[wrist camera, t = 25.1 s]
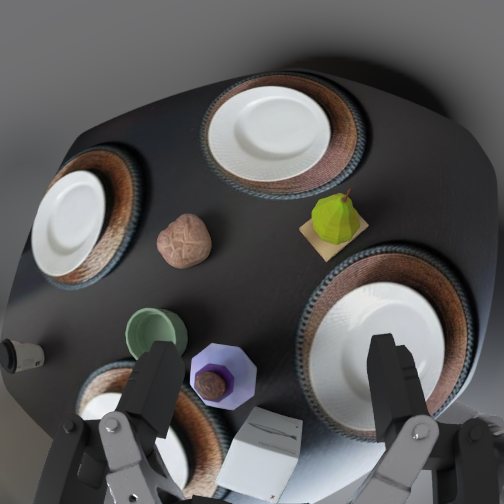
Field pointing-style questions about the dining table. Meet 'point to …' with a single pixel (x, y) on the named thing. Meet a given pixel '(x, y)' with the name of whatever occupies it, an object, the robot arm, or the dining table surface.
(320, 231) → the fruit
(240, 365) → the potion bottle
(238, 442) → the white packaging box
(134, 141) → the dining table surface
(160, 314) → the bowl
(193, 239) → the brown rounded lump
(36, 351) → the coffee cup
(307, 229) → the board
